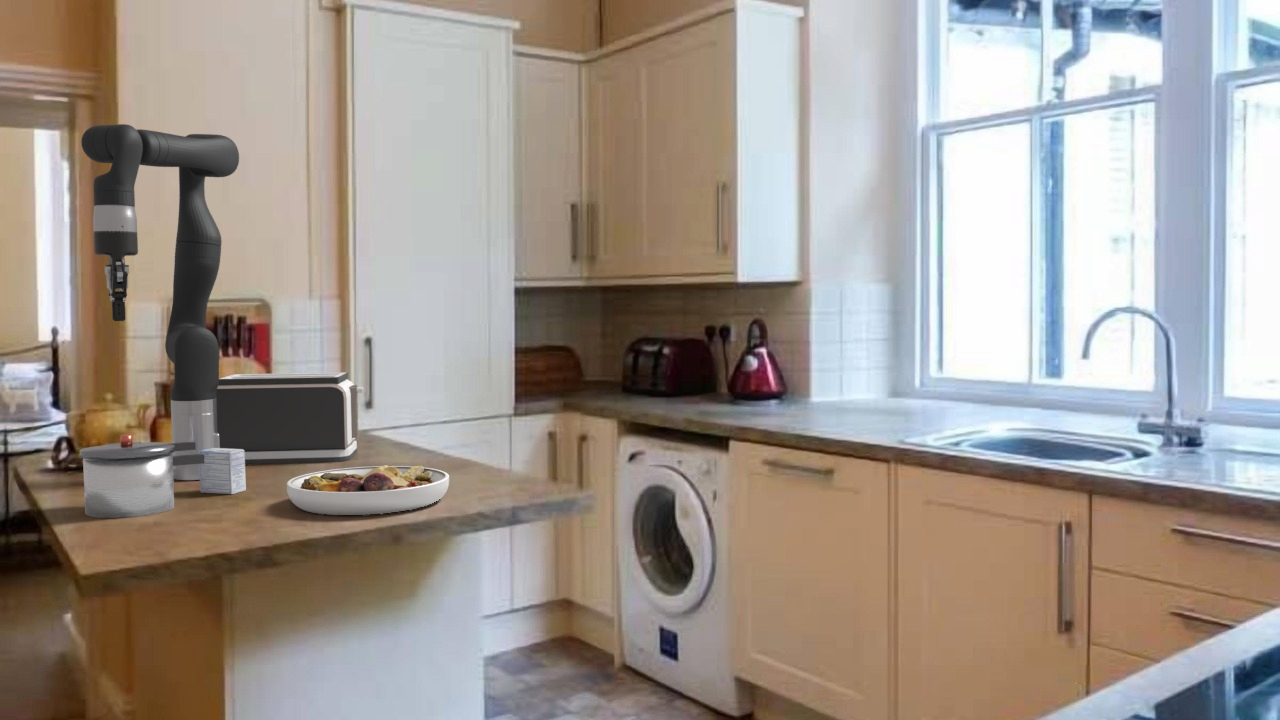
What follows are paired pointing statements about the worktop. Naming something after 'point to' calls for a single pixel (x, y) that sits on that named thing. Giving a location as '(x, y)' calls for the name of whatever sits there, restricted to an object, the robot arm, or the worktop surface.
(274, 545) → the worktop surface
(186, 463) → the cooker pot
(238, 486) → the medicine box
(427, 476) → the bowl
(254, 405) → the toaster
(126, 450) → the lid
